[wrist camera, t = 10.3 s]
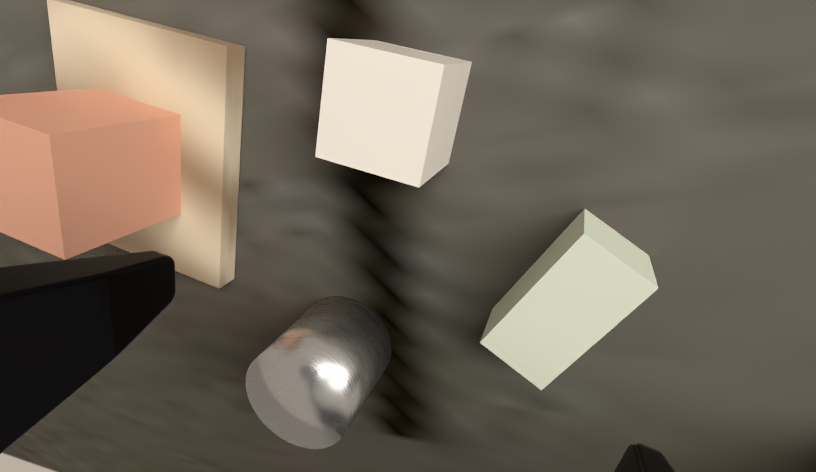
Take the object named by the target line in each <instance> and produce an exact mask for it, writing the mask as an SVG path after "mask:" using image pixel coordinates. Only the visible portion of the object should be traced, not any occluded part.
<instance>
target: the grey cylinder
mask: <svg viewBox="0 0 816 472" xmlns="http://www.w3.org/2000/svg"><path fill="white" fill-rule="evenodd" d="M391 352H392V346H391V340H390V336H389V334H388V331H387V329H386V327H385V325H384V324H383V322H382V321H381V320H380V318H379V317H378V316H377V315H376V314H375V313H374V312H373V311H372V310H371V309H369V308H368V307H367V306H365V305H364V304H362V303H360V302H358V301H356V300H353V299H350V298H347V297H340V296H333V297H327V298H324V299H321V300H320V301H318V302H316V303H315V304H314V305H313V306H312V307H311V308H310V309H309V310H307V311H306V312H305V313H304V314H303V315H302V316H301V317H300V318H299V319H298V320H297V321H296V322H295V323H293V324H292V325H291V326H290V327H289V328H288V329H287V330H286V331H285V332H284V333H283V334H282V335H280V336H279V337H278V338H277V339H276V340H275V341H274V342H273V343H272V344H271V345H270V346H269V347H268V348H266V349H265V350H264V351H263V352H262V353H261V354H260V355H259V356H258V357H257V358H256V359H255V360H254V361H253V362H252V363H251V364H250V366H249V368H248V370H247V374H246V392H247V395H248V399H249V401H250V404H251V406H252V408H253V410H254V411H255V413H256V414H257V416H258V417H259V418H260V420H261V421H262V422H263V423H264V424H265V425H266V426H267V427H268V428H269V429H270V430H271V431H272V432H273V433H275V434H276V435H277V436H279V437H280V438H282V439H283V440H285V441H287V442H289V443H291V444H294V445H296V446H299V447H302V448H308V449H323V448H327V447H330V446H332V445H334V444H335V443H337V442H338V441H339V440H340V439H341V438H342V436H343V435H344V433H345V432H346V430H347V429H348V427H349V425H350V424H351V422H352V421H353V419H354V418H355V416H356V414H357V413H358V411H359V410H360V408H361V407H362V405H363V403H364V402H365V400H366V399H367V397H368V396H369V394H370V392H371V391H372V389H373V388H374V386H375V384H376V383H377V381H378V380H379V378H380V377H381V375H382V373H383V372H384V370H385V369H386V367H387V365H388V363H389V361H390V358H391Z"/></svg>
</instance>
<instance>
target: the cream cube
mask: <svg viewBox="0 0 816 472" xmlns="http://www.w3.org/2000/svg"><path fill="white" fill-rule="evenodd" d="M471 64H472V62H470V61H465V60H461V59H456V58H452V57H448V56H443V55H439V54H434V53H430V52H425V51H421V50H416V49H412V48H407V47H403V46H398V45H394V44H389V43H385V42H381V41H376V40H358V39H337V38H328V39H327V49H326V58H325V68H324V77H323V87H322V96H321V106H320V116H319V125H318V135H317V144H316V154H315V157H317V158H320V159H324V160H327V161H331V162H334V163H337V164H341V165H344V166H347V167H351V168H354V169H358V170H361V171H364V172H368V173H371V174H374V175H378V176H381V177H385V178H388V179H391V180H395V181H398V182H401V183H405V184H408V185H412V186H415V187H418V188H419V187H421V186H422V185H423V184H424V183H425V182H427V181H428V180H429V179H430V178H431V177H433V176H434V175H435V174H436V173H437V172H439V171H440V170H441V169H442V168H444V167H445V166H446V165H447V164H448V163H449V159H450V155H451V151H452V146H453V142H454V137H455V133H456V129H457V124H458V120H459V116H460V111H461V107H462V103H463V98H464V94H465V90H466V85H467V81H468V77H469V72H470V68H471Z"/></svg>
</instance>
